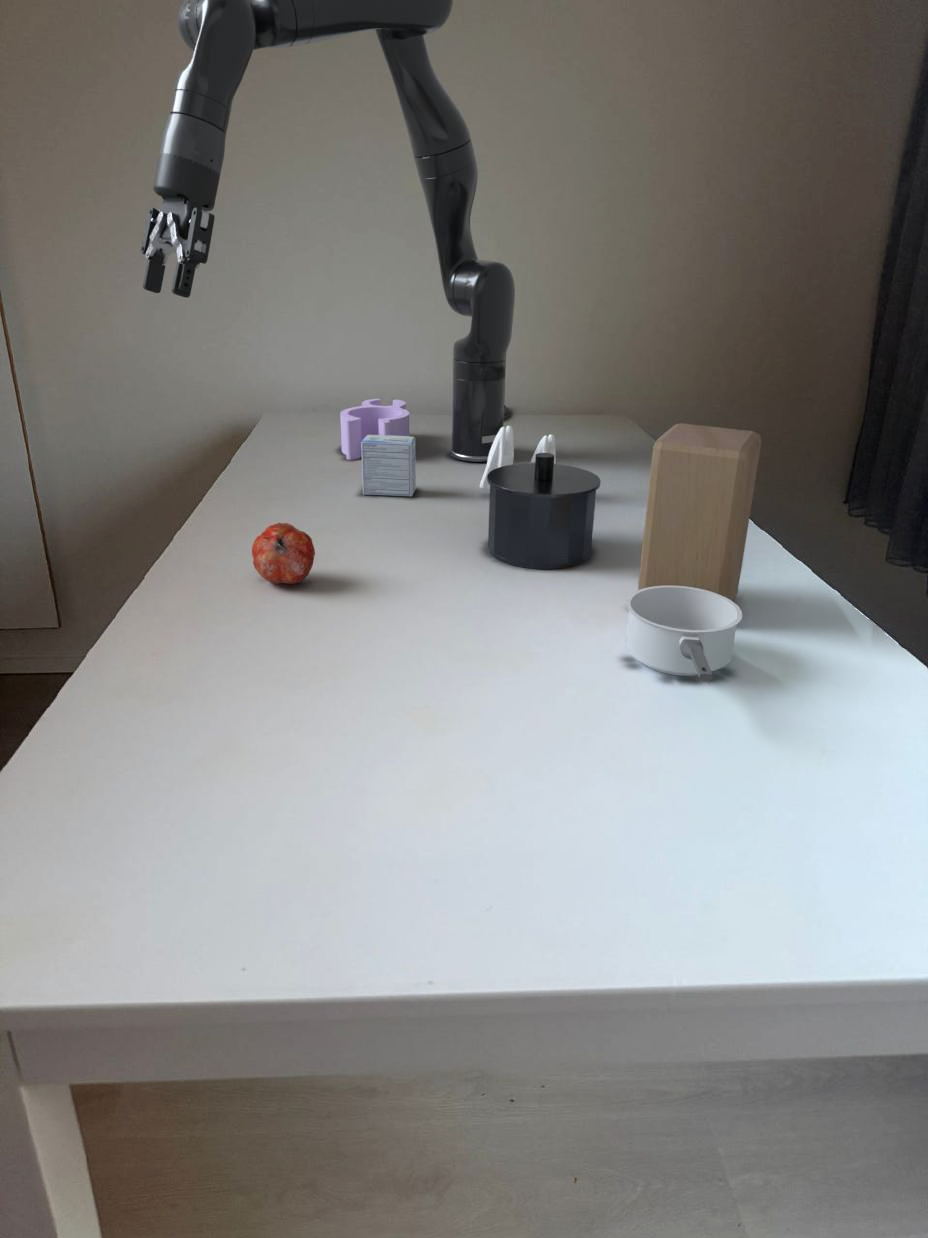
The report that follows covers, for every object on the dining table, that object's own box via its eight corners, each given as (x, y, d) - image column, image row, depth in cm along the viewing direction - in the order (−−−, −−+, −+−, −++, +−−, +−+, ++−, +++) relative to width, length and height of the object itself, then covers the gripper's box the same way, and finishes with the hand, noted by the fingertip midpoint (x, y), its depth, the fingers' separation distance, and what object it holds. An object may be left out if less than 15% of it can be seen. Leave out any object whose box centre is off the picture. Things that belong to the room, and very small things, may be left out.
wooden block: (737, 597, 108) (764, 430, 99) (722, 629, 99) (749, 450, 91) (654, 582, 111) (673, 420, 103) (633, 612, 103) (652, 438, 95)
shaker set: (479, 499, 141) (481, 429, 136) (477, 491, 145) (479, 422, 140) (555, 500, 142) (560, 429, 137) (552, 492, 145) (556, 423, 141)
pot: (493, 530, 128) (496, 464, 124) (590, 536, 126) (596, 470, 122) (483, 565, 116) (485, 493, 112) (590, 572, 114) (596, 500, 110)
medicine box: (416, 489, 145) (416, 435, 142) (412, 497, 141) (411, 442, 138) (367, 487, 146) (366, 433, 142) (362, 495, 142) (360, 440, 138)
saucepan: (633, 725, 81) (639, 670, 78) (616, 629, 99) (621, 582, 97) (763, 733, 80) (774, 678, 78) (723, 635, 98) (730, 587, 96)
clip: (356, 433, 179) (355, 397, 176) (419, 435, 178) (419, 400, 175) (333, 459, 161) (331, 420, 158) (402, 462, 160) (402, 423, 157)
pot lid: (492, 468, 125) (493, 438, 123) (599, 473, 123) (602, 444, 121) (480, 499, 111) (481, 466, 110) (600, 506, 110) (602, 473, 108)
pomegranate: (258, 587, 113) (231, 565, 103) (274, 533, 115) (249, 506, 105) (315, 599, 112) (293, 578, 102) (330, 544, 114) (310, 518, 104)
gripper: (244, 173, 112) (217, 306, 115) (191, 175, 122) (168, 298, 125) (189, 148, 107) (162, 288, 110) (138, 152, 116) (114, 280, 119)
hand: (165, 293), depth 117 cm, fingers open, 8 cm apart
